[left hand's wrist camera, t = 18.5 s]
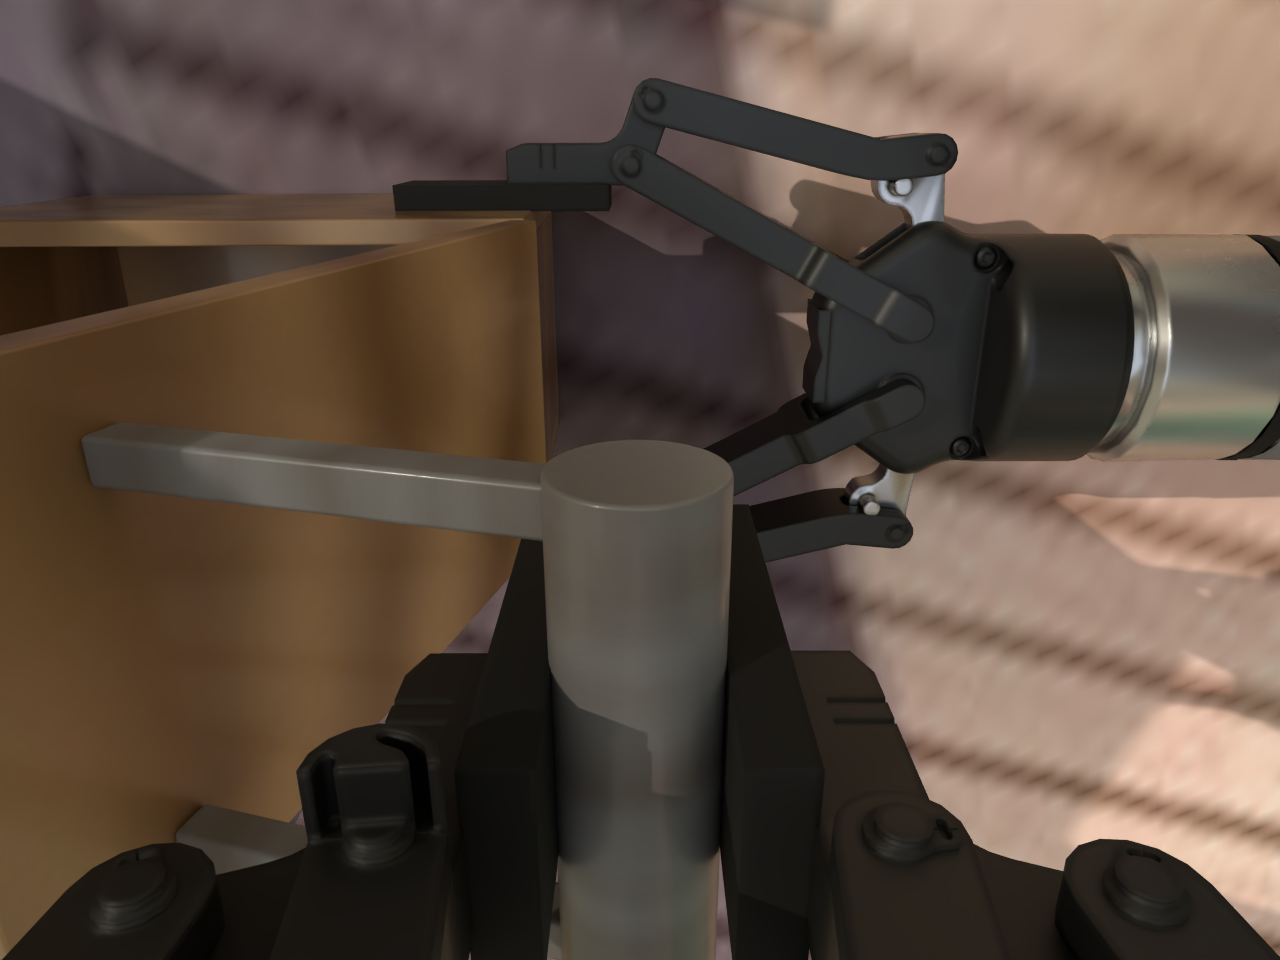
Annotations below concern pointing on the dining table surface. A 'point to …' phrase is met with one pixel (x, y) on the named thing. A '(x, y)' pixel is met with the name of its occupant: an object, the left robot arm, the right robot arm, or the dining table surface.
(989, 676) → the dining table surface
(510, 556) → the lid
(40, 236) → the chest
